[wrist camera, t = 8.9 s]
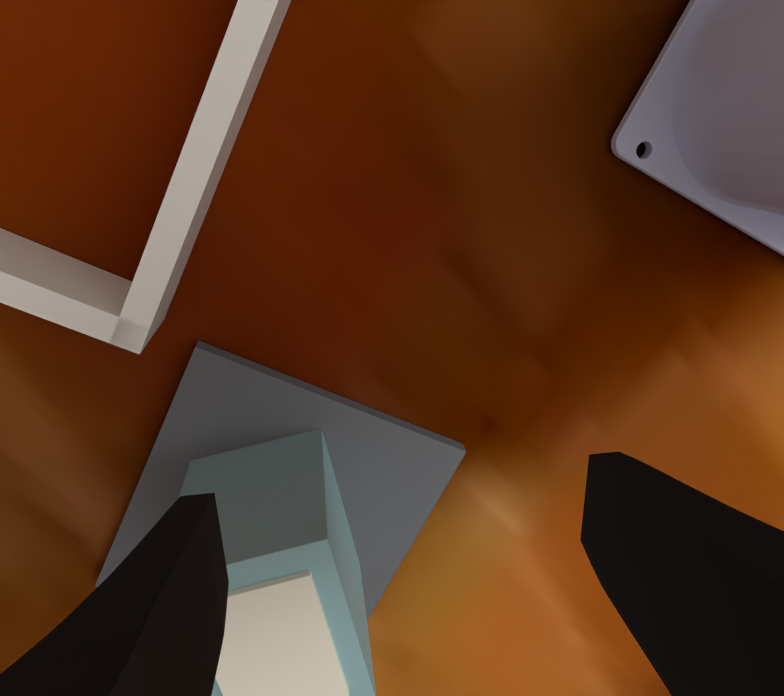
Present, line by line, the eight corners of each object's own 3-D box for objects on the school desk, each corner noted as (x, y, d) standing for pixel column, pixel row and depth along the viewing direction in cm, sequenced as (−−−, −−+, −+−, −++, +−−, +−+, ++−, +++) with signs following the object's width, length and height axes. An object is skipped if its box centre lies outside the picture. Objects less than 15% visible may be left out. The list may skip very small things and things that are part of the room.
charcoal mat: (462, 443, 22) (466, 452, 21) (346, 640, 25) (348, 652, 24) (198, 340, 19) (195, 346, 19) (99, 574, 22) (94, 586, 21)
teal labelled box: (321, 428, 20) (327, 544, 15) (360, 564, 23) (377, 709, 17) (190, 460, 20) (147, 590, 14) (242, 594, 22) (222, 751, 17)
